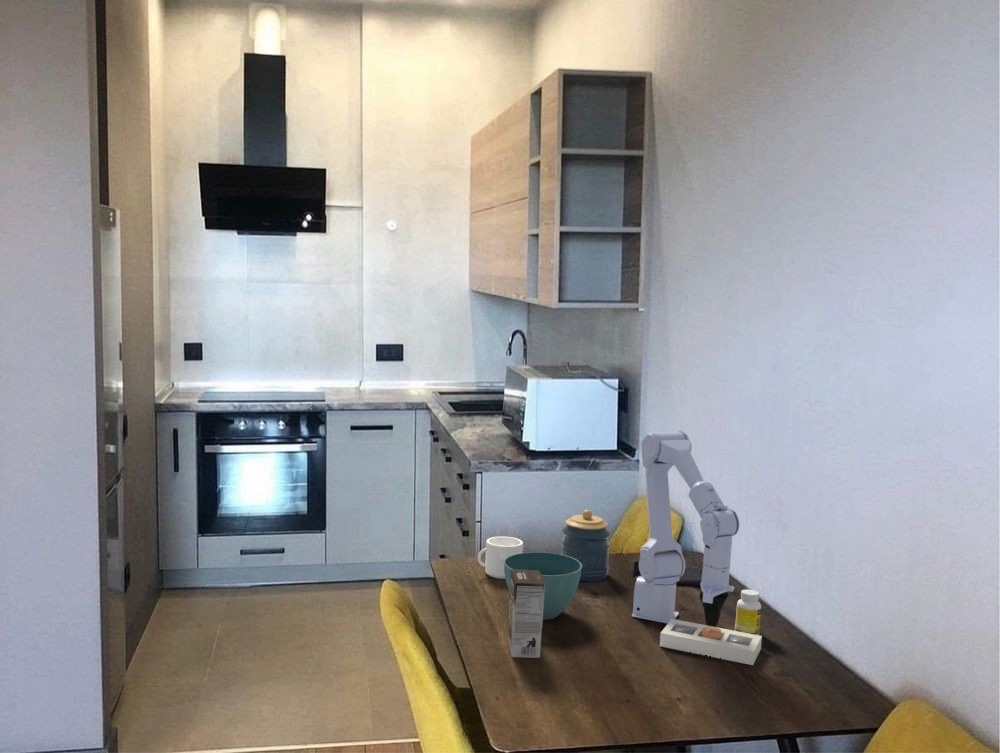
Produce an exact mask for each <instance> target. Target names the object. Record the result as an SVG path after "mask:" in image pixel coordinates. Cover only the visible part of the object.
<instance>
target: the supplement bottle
mask: <svg viewBox="0 0 1000 753" xmlns="http://www.w3.org/2000/svg"><path fill="white" fill-rule="evenodd" d="M759 600H760V593H759V592H758V591H757V590H754V589H742V590H741V591H740V599H738V600H737V603H736V613H735V622H734V623H735V624H734V631H738V632H743V633H749V634H754V635H759V636H760V628H761V627H760V626H761V624H760V623H761V614H762V604H761V603H760V601H759Z"/></svg>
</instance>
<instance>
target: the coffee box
mask: <svg viewBox="0 0 1000 753" xmlns="http://www.w3.org/2000/svg"><path fill="white" fill-rule="evenodd" d="M544 591H545V583H544V581H543V578H542V576H541V573H540V571H539V570H524V569H512V570H511V581H510V592H509V604H508V605H509V608H508V625H507V626H508V628H507V629H508V630H507V643H508V648H509V650H510V656H511V658H528V659H529V658H532V659H533V658H534V659H535V658H536V659H537V658H538V659H539V658H541V653H542V639H543V637H542V636H543V623H544V622H543V608H544Z"/></svg>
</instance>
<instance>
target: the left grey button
mask: <svg viewBox="0 0 1000 753" xmlns="http://www.w3.org/2000/svg"><path fill="white" fill-rule="evenodd" d="M675 632H680V633H685V634H690V635H693V629H692V628H690V627H687V626H677V627H675Z"/></svg>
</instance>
